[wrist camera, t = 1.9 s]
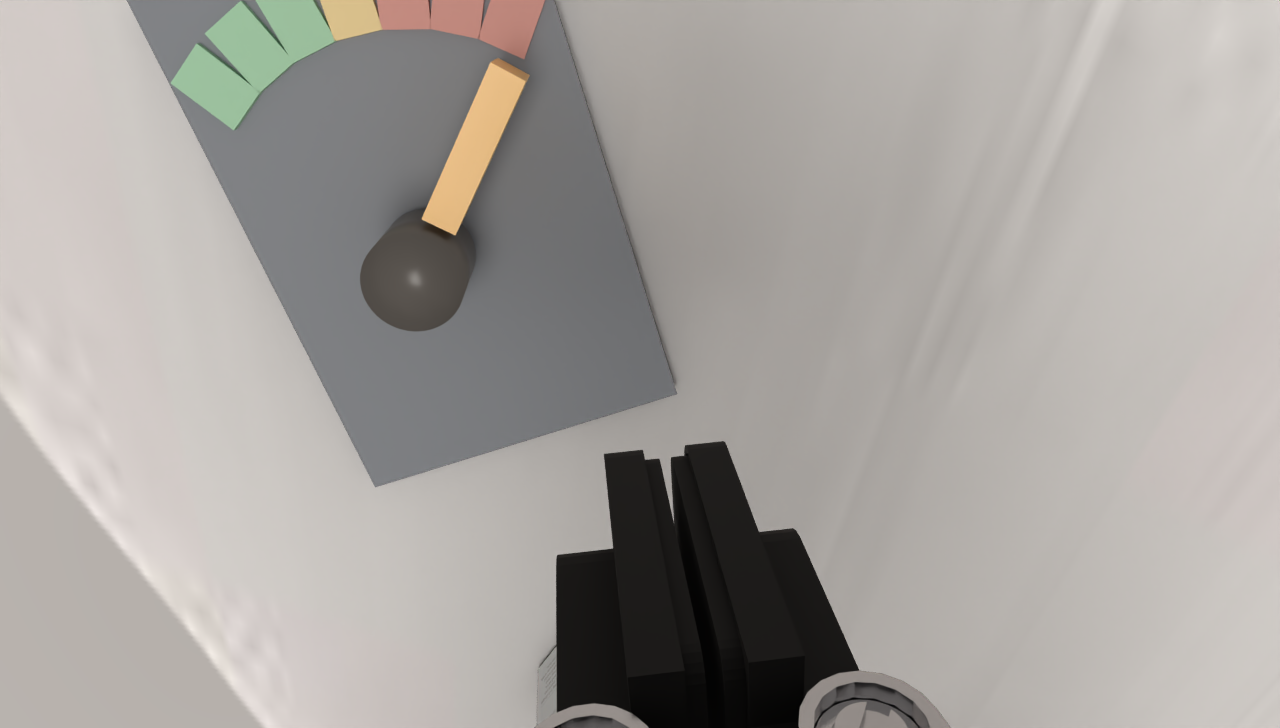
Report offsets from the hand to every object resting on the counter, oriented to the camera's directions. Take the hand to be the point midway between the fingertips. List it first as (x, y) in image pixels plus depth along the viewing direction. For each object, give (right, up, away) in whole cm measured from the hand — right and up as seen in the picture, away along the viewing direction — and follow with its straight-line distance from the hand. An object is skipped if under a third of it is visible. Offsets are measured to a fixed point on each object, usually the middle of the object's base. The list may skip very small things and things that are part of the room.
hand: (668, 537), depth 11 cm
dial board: (-8, +8, +20) cm, 23 cm away
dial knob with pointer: (-7, +9, +18) cm, 22 cm away
